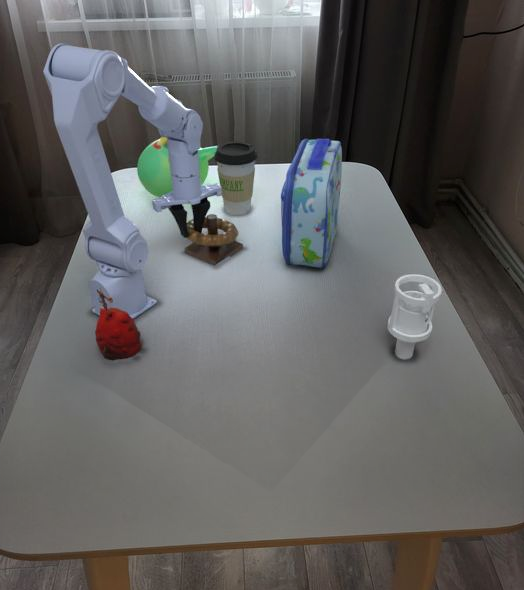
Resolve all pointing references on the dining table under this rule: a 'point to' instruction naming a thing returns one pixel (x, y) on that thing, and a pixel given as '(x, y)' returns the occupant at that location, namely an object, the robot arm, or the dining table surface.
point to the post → (214, 252)
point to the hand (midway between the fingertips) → (191, 234)
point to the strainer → (412, 313)
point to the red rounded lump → (116, 332)
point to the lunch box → (311, 203)
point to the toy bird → (165, 167)
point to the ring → (213, 239)
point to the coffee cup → (236, 175)
